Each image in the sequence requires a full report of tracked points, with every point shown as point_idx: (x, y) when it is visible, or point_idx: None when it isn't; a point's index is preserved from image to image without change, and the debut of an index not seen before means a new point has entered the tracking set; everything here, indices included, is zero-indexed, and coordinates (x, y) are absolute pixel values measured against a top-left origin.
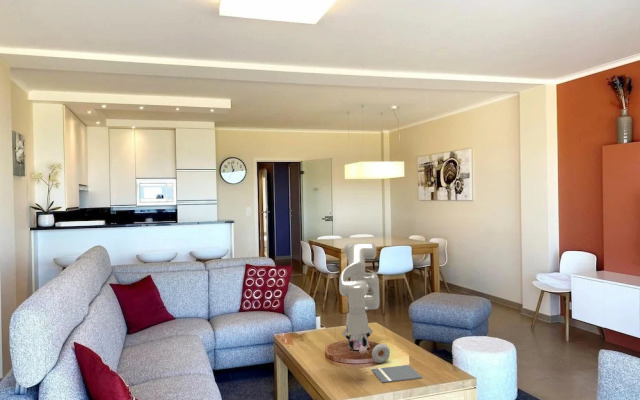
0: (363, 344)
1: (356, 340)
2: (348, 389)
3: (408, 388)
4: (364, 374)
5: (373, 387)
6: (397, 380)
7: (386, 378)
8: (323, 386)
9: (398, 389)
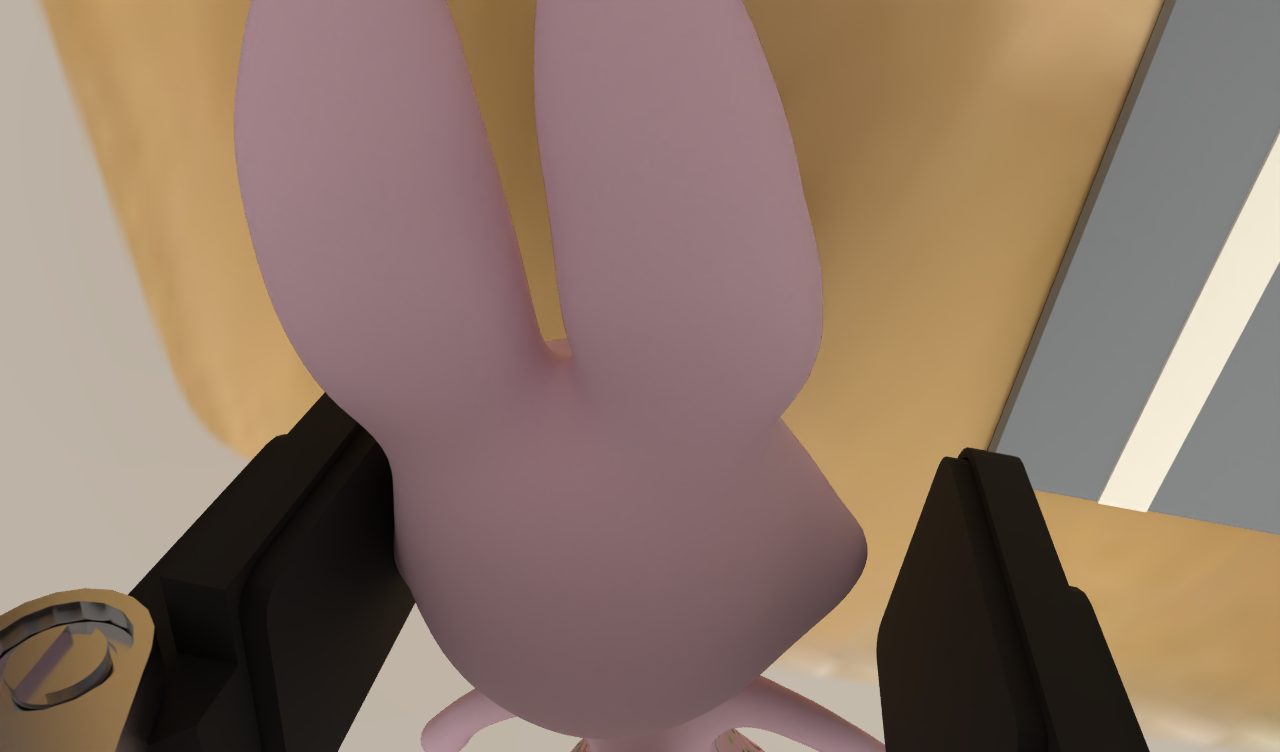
0: (916, 644)
1: (579, 675)
2: None
3: (1176, 715)
4: (937, 22)
5: None
6: (1239, 525)
7: (1137, 412)
8: (118, 189)
9: None
